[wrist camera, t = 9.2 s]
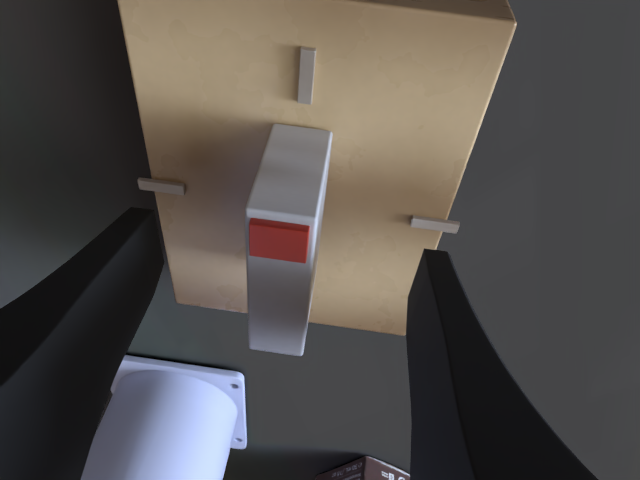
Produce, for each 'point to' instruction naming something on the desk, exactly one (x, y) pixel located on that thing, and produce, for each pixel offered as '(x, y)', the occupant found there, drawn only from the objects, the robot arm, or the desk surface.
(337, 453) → the desk surface
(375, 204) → the panel
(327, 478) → the box
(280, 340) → the grey rectangular block
